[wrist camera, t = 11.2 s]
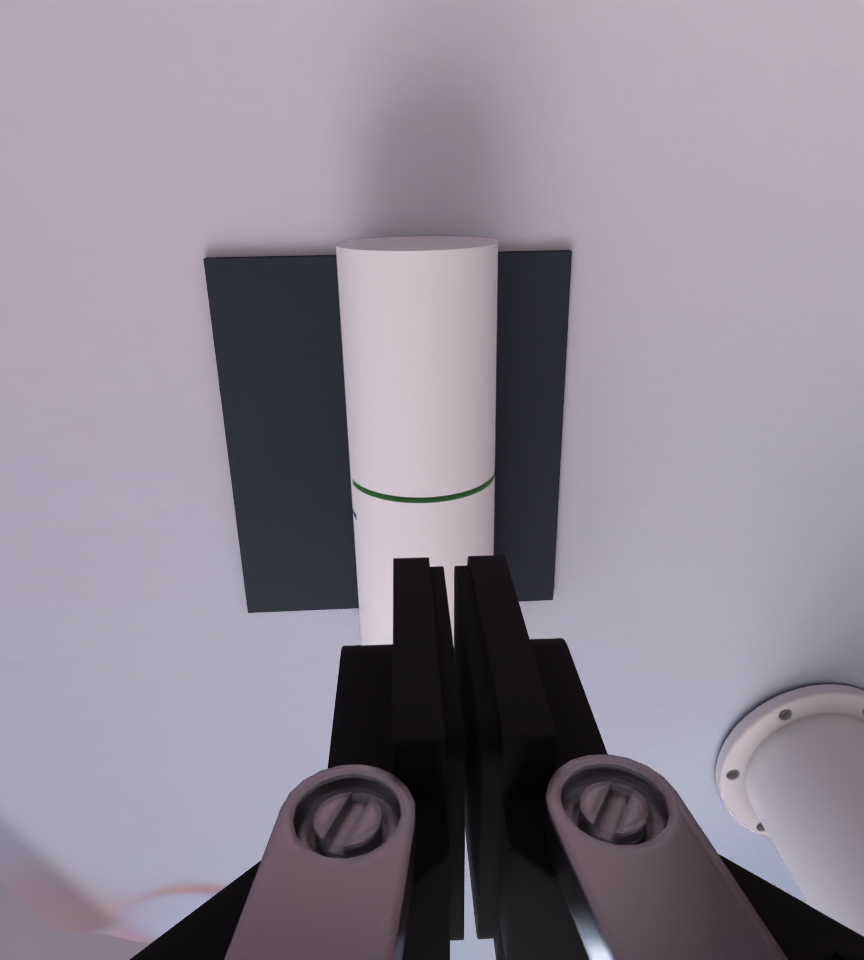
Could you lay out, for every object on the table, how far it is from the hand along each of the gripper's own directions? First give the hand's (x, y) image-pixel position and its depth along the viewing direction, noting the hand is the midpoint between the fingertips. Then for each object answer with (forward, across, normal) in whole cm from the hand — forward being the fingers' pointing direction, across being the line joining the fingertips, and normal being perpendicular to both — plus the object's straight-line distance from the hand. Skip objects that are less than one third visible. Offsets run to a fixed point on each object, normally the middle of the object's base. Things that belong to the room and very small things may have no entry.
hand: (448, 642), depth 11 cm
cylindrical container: (+25, 0, -4) cm, 25 cm away
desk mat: (+29, +1, +7) cm, 30 cm away
